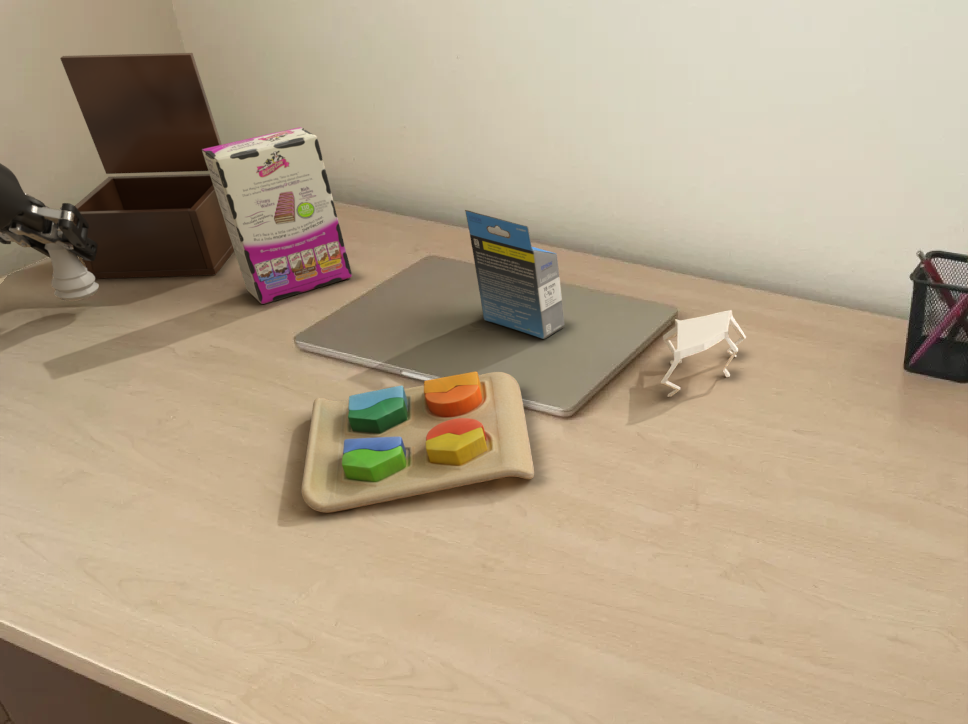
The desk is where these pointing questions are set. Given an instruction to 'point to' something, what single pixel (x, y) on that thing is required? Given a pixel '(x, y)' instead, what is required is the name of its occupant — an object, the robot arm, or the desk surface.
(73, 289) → the rook chess piece
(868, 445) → the desk surface
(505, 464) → the puzzle board
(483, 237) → the tape cartridge
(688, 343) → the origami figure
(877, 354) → the desk surface
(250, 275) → the candy bar box
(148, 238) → the compartment
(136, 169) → the compartment lid
